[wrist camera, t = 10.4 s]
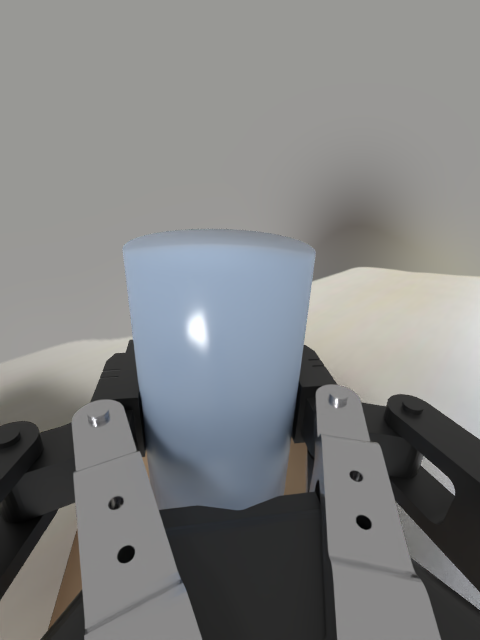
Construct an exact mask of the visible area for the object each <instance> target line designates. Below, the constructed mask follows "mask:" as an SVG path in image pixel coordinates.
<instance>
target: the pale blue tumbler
mask: <svg viewBox="0 0 480 640" xmlns="http://www.w3.org/2000/svg"><path fill="white" fill-rule="evenodd" d="M315 254H316V253H315V250H314V248H312V247H311V246H310V245H308V244H306V243H304V242H302V241H299V240H296V239H293V238H290V237H286V236H281V235H276V234H271V233H264V232H256V231H246V230H232V229H189V230H175V231H166V232H160V233H154V234H149V235H144V236H141V237H138V238H135V239H133V240H131V241H129V242H127V243H126V244H125V245H124V246H123V256H124V265H125V273H126V282H127V291H128V298H129V307H130V316H131V325H132V333H133V342H134V350H135V359H136V368H137V376H138V384H139V391H140V400H141V408H142V417H143V425H144V434H145V443H146V453H147V462H148V470H149V479H150V484H151V487H152V491H153V494H154V497H155V500H156V503H157V506H158V510H162V509H170V508H179V507H187V506H196V505H200V506H208V507H216V508H224V509H231V510H243V509H246V508H249V507H251V506H254V505H257V504H259V503H262V502H264V501H267V500H269V499H272V498H274V497H277V496H281V495H284V490H285V483H286V475H287V467H288V460H289V452H290V445H291V437H292V429H293V422H294V414H295V406H296V399H297V391H298V384H299V376H300V368H301V361H302V353H303V346H304V338H305V330H306V323H307V315H308V308H309V300H310V292H311V285H312V277H313V269H314V262H315Z"/></svg>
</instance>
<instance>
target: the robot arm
mask: <svg viewBox="0 0 480 640" xmlns="http://www.w3.org/2000/svg"><path fill="white" fill-rule="evenodd" d="M292 439H293V441H294V443H306V446H307V451H306V493H299V494H290V495H281V496H277V497H274V498H272V499H269V500H267V501H264V502H262V503H259V504H257V505H254V506H251V507H249V508H246V509H243V510H231V509H224V508H216V507H208V506H200V505H196V506H187V507H179V508H170V509H162V510H158V506H157V503H156V500H155V497H154V494H153V491H152V487H151V484H150V481H149V478H148V475H147V471H146V468H145V465H144V462H143V459H142V457H145V453H146V443H145V434H144V425H143V417H142V408H141V400H140V391H139V384H138V376H137V368H136V359H135V350H134V342H133V340H130V341H129V344H128V347H127V350H126V353H115V354H114V355H113V356H112V357H111V358H110V359H108V360H107V361H106V364H105V366H104V369H103V372H102V374H101V376H100V379H99V382H98V384H97V387H96V389H95V392H94V394H93V397H92V400H91V402H90V403H88V404H86V405H84V406H83V407H81V408H80V409H79V410H77V412H76V413H75V414H74V416H73V418H72V422H71V423H69V424H67V425H64V426H61V427H58V428H55V429H51V430H48V431H44V432H41V433H39V430H38V427H37V426H36V425H35V424H34V423H31V422H26V421H19V422H12V423H8V424H5V425H2V426H0V600H1V598H2V597H3V595H4V594H5V592H6V591H7V589H8V587H9V586H10V584H11V583H12V581H13V580H14V578H15V577H16V575H17V574H18V572H19V570H20V569H21V567H22V566H23V564H24V563H25V561H26V560H27V558H28V556H29V555H30V553H31V552H32V550H33V549H34V547H35V546H36V544H37V543H38V541H39V539H40V538H41V536H42V535H43V533H44V532H45V530H46V529H47V527H48V525H49V524H50V522H51V521H52V519H53V518H54V516H55V515H56V513H57V511H58V509H59V508H62V507H64V506H67V505H69V504H72V503H74V502H75V504H76V516H77V529H78V541H79V554H80V566H81V579H82V590H81V591H80V592H79V593H78V595H77V596H76V597H75V598H74V599H73V601H72V602H71V603H70V604H69V605H68V607H67V608H66V609H65V610H64V612H63V613H62V614H61V615H60V616H59V618H58V619H57V620H56V621H55V622H54V624H53V625H52V626H51V627H50V628H49V630H48V631H47V632H46V633H45V634H44V636H43V637H42V638H41V639H40V640H480V610H479V609H478V608H476V607H475V606H474V605H472V604H471V603H470V602H468V601H467V600H466V599H464V598H463V597H462V596H460V595H459V594H458V593H456V592H455V591H454V590H452V589H451V588H450V587H449V586H447V585H446V584H445V583H443V582H442V581H441V580H439V579H438V578H437V577H435V576H434V575H433V574H431V573H430V572H429V571H427V570H426V569H425V568H423V567H422V566H421V565H420V564H418V563H417V562H416V561H414V560H413V559H412V558H410V555H409V551H408V547H407V543H406V540H405V536H404V532H403V528H402V525H401V521H400V517H399V513H398V510H397V506H396V502H397V503H398V504H399V505H400V506H401V507H402V508H403V509H404V511H405V512H406V513H407V514H408V515H409V516H410V517H411V518H412V519H413V520H414V521H415V522H416V524H417V525H418V526H419V527H420V528H421V529H422V530H423V531H424V532H425V533H426V534H427V535H428V537H429V538H430V539H431V540H432V541H433V542H434V543H435V544H436V545H437V546H438V547H439V548H440V549H441V551H442V552H443V553H444V554H445V555H446V556H447V557H448V558H449V559H450V560H451V561H452V562H453V564H454V565H455V566H456V567H457V568H458V569H459V570H460V571H461V572H462V573H463V574H464V575H465V577H466V578H467V579H468V580H469V581H470V582H471V583H472V584H473V585H474V586H475V587H476V588H477V590H478V591H479V592H480V440H479V439H478V438H477V437H475V436H474V435H472V434H471V433H469V432H468V431H467V430H465V429H464V428H462V427H461V426H460V425H458V424H457V423H455V422H454V421H452V420H451V419H450V418H448V417H447V416H445V415H444V414H442V413H441V412H440V411H438V410H437V409H435V408H434V407H432V406H431V405H430V404H428V403H427V402H425V401H423V400H421V399H419V398H417V397H414V396H410V395H404V394H398V395H393V396H391V397H390V398H389V399H388V402H387V406H379V405H373V404H367V403H362V402H361V400H360V398H359V396H358V395H357V394H356V393H355V392H354V391H352V390H350V389H348V388H346V387H344V386H340V385H337V383H336V382H335V380H334V379H333V377H332V376H331V375H330V373H329V372H328V370H327V369H326V367H324V364H323V363H322V361H321V360H320V359H319V357H318V356H317V354H316V353H315V351H313V350H312V349H310V348H309V347H307V346H306V345H304V346H303V353H302V361H301V368H300V376H299V384H298V391H297V399H296V406H295V414H294V422H293V429H292ZM423 456H425V457H426V458H427V459H428V460H429V461H430V462H432V463H433V464H434V465H435V466H436V467H437V468H439V469H440V470H441V471H442V472H443V473H444V474H445V475H447V476H448V477H449V479H450V480H451V481H452V483H453V485H454V488H455V496H454V495H453V494H452V493H451V492H450V491H448V490H447V489H446V488H445V487H444V486H443V485H442V484H441V483H440V482H438V481H437V480H436V479H435V478H434V477H433V476H432V475H431V474H430V473H428V472H427V471H426V470H425V469H424V468H423V467H422V466H421V465H420V464H421V462H422V459H423ZM395 501H396V502H395Z"/></svg>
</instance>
